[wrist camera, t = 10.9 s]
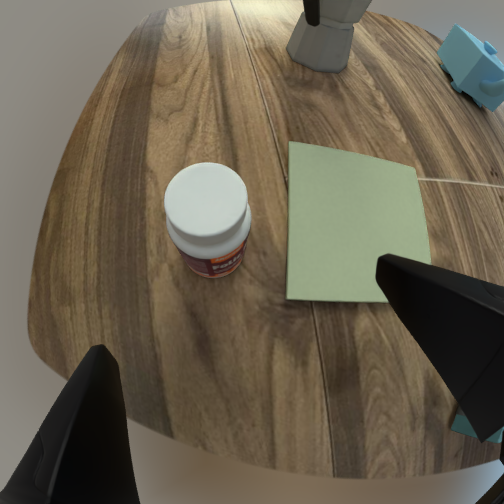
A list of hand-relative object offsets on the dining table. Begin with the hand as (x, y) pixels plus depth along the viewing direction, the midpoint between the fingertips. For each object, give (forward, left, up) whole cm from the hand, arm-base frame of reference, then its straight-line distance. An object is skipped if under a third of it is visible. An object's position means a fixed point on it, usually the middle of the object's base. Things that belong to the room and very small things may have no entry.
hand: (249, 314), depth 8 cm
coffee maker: (+33, +3, -12) cm, 36 cm away
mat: (+11, -7, -12) cm, 18 cm away
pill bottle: (+4, +4, -12) cm, 13 cm away
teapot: (+53, -27, -12) cm, 61 cm away
